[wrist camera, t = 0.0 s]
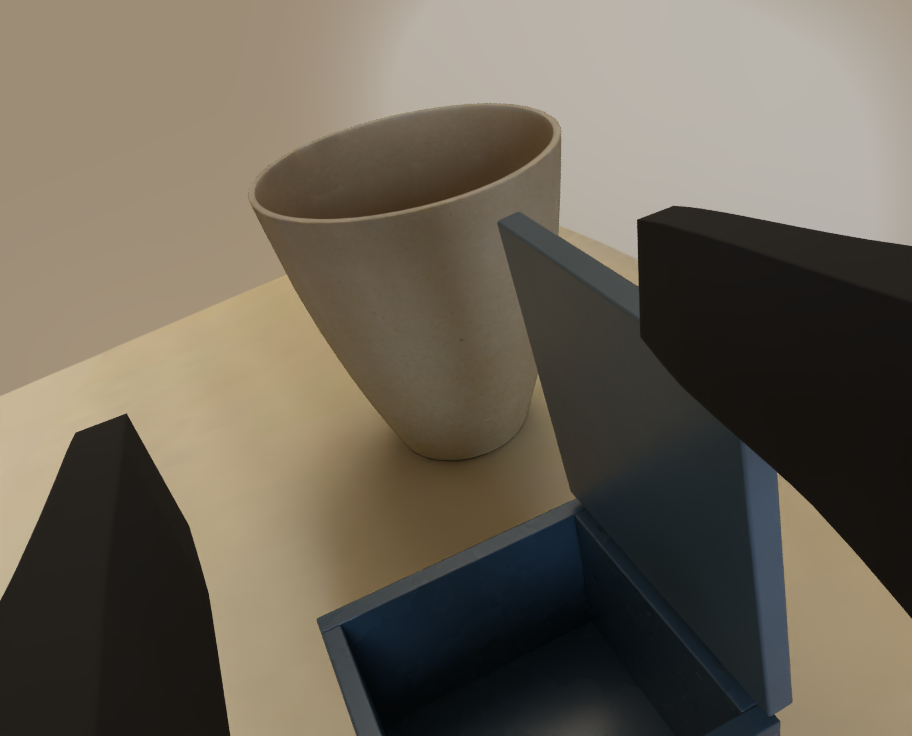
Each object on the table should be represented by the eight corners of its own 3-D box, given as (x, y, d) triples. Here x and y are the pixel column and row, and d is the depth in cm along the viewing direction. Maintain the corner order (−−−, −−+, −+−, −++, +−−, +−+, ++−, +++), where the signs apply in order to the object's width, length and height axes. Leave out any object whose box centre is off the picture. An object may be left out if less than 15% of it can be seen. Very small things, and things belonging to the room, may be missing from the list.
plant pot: (597, 503, 38) (554, 193, 30) (309, 516, 42) (196, 241, 33) (594, 336, 51) (564, 82, 42) (372, 357, 54) (301, 125, 45)
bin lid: (737, 388, 15) (772, 369, 15) (495, 220, 23) (519, 209, 23) (769, 719, 21) (794, 703, 21) (570, 491, 29) (588, 481, 29)
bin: (474, 1032, 22) (422, 927, 19) (366, 730, 31) (315, 618, 27) (775, 846, 25) (781, 721, 21) (598, 613, 33) (580, 495, 29)
